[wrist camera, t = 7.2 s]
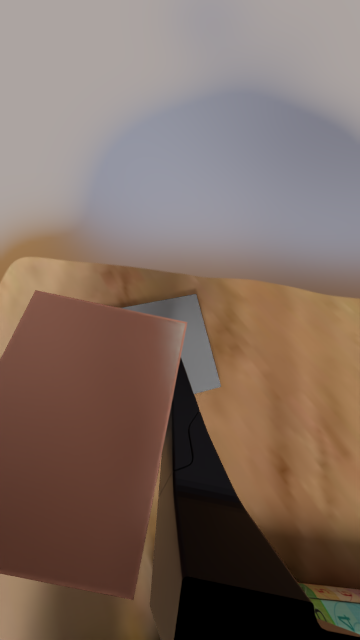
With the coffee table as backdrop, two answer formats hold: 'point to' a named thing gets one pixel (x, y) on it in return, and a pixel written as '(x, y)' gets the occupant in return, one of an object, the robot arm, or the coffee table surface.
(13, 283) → the coffee table surface
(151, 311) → the mat
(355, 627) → the puzzle game
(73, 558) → the card box
